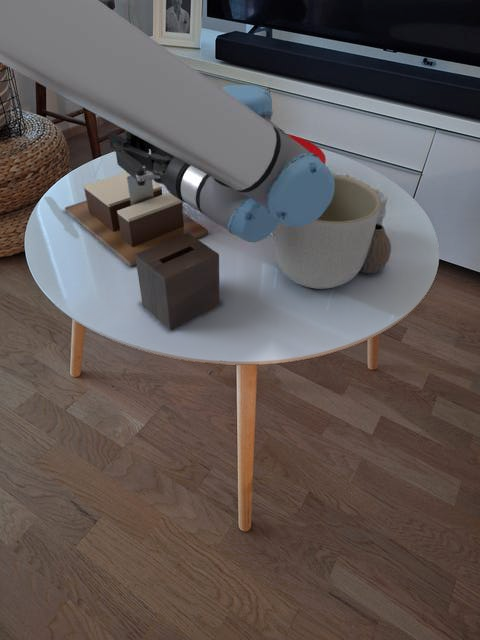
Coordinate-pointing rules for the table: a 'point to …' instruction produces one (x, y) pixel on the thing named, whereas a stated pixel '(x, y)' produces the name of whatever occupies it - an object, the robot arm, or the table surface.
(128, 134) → the knife
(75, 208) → the cake board
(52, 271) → the table surface
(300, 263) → the planter
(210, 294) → the knife block
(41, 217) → the table surface
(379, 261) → the vase
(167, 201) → the cake slice
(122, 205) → the cake
